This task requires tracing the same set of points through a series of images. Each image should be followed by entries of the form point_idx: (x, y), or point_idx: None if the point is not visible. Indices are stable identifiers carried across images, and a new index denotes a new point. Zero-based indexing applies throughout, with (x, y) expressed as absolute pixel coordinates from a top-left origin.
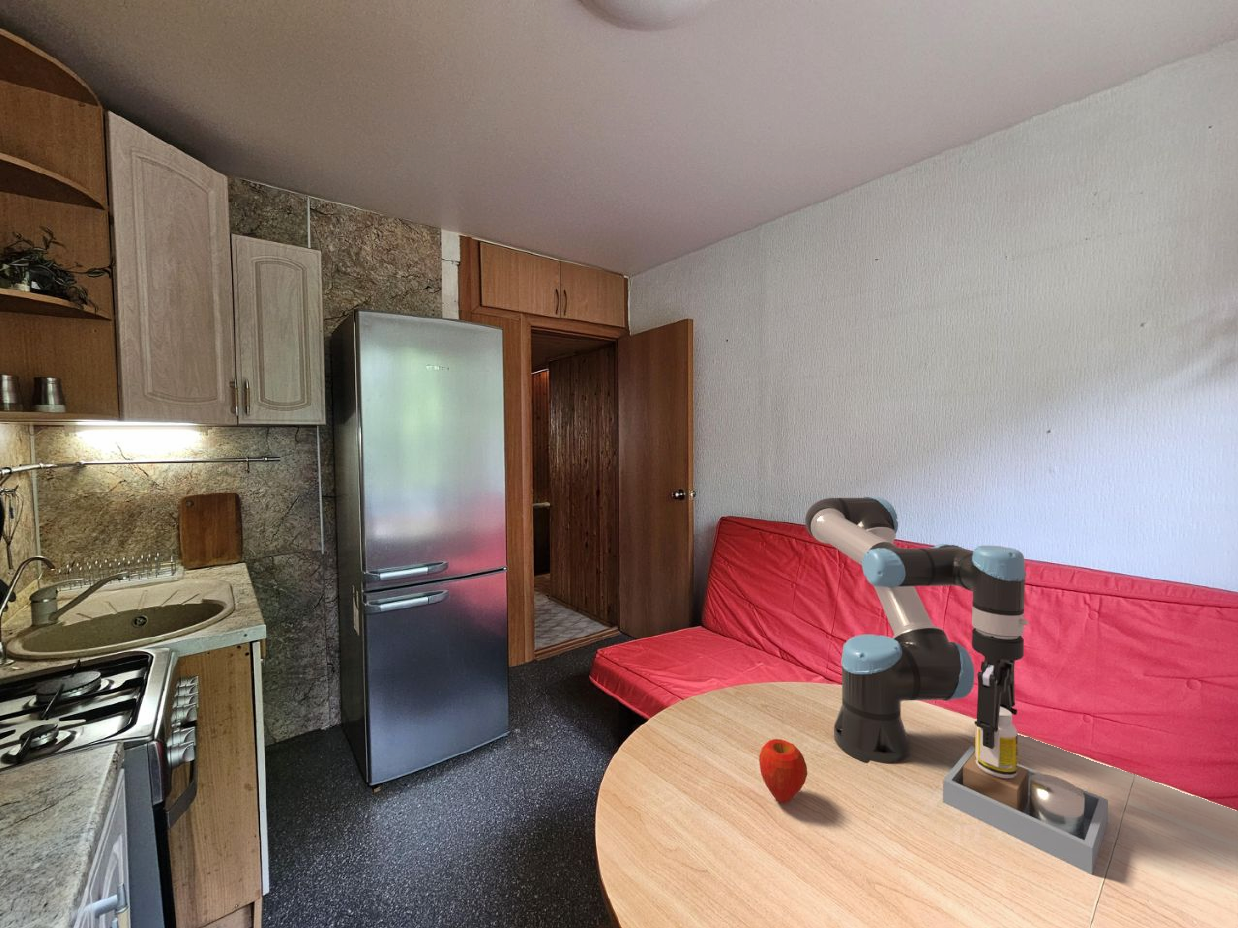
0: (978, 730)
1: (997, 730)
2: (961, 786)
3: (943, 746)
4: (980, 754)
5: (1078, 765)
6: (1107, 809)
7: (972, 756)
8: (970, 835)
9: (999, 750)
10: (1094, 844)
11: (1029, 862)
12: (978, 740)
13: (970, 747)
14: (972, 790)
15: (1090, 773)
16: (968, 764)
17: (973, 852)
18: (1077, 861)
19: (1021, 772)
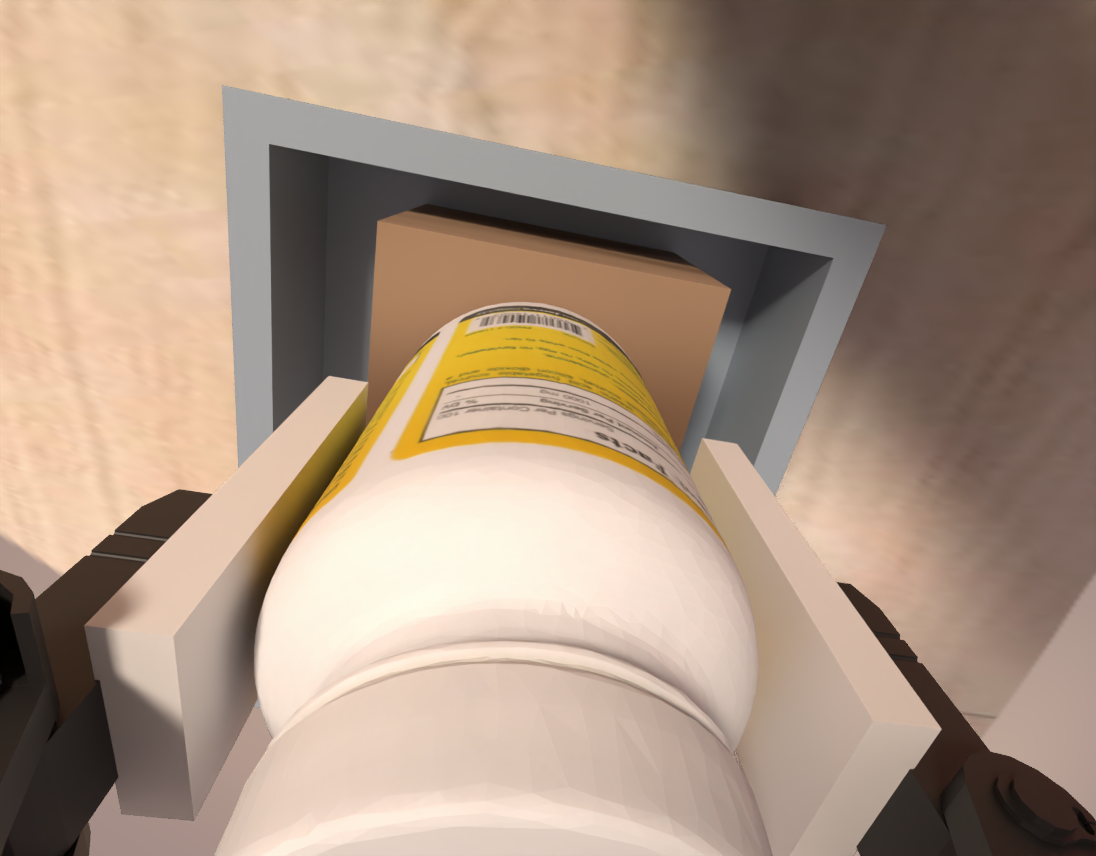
0: (347, 471)
1: (149, 797)
2: (252, 218)
3: (1025, 11)
4: (311, 398)
5: (1064, 602)
6: None
7: (595, 269)
8: (179, 262)
9: None
10: None
11: (215, 466)
12: (390, 409)
13: (853, 222)
14: (263, 286)
15: (1012, 630)
16: (446, 254)
17: (67, 285)
18: None
19: None
